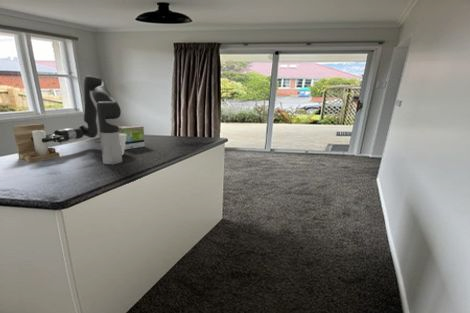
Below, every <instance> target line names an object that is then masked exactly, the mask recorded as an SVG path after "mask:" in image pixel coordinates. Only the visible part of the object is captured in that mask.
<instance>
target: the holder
mask: <svg viewBox="0 0 470 313" xmlns="http://www.w3.org/2000/svg"><path fill="white" fill-rule="evenodd" d="M12 129H13V133H14V134H13V135H14V139H15V144H16V150H17V154H18V155H17V156H18V159H20V160H23V161H26V162H28V163H34V162H35V163H36V162H41V161H45V160H50V159H57V158H60V152H57V151H56V148H55V147H48V154H47V155H36V152H35V146H34V141H32V140H31V137H33V134H32V131H40V130H42V131H45V132H46V129H45V125H44V123H37V124H36V123H34V124H25V125H24V124H22V125H12Z"/></svg>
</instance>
